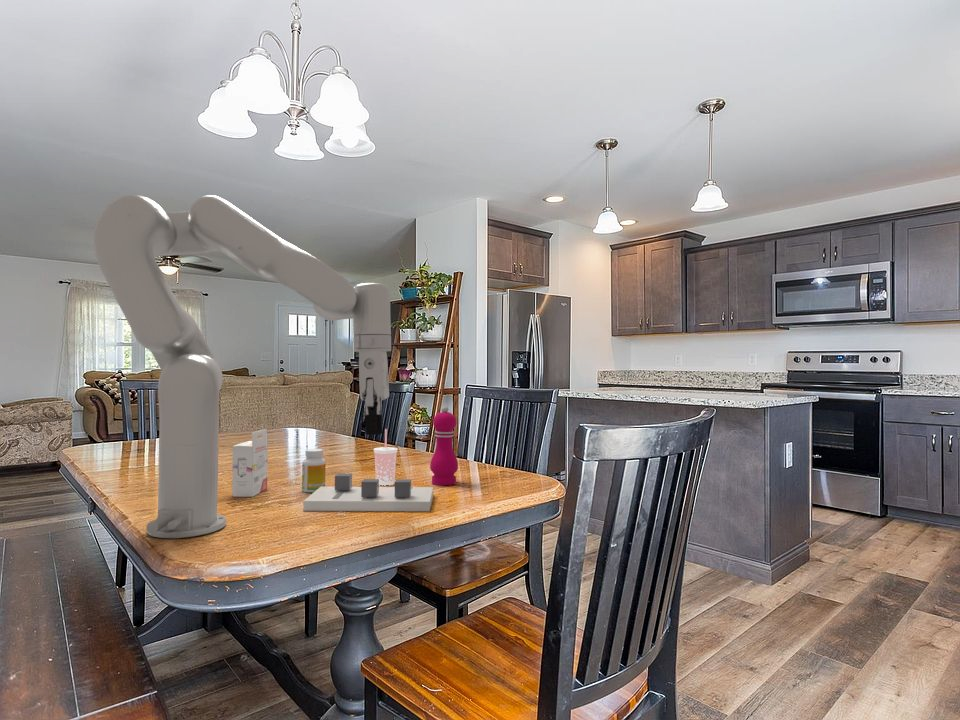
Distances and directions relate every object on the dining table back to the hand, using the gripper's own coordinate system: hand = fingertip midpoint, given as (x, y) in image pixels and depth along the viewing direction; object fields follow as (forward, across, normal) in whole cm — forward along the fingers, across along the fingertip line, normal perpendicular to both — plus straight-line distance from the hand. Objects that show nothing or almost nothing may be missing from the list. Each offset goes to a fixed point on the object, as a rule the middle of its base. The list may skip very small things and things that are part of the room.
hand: (374, 434), depth 112 cm
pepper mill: (+17, +29, -14) cm, 36 cm away
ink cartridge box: (+15, +18, +32) cm, 40 cm away
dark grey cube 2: (+14, +6, +2) cm, 15 cm away
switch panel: (+16, +9, +2) cm, 18 cm away
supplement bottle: (+16, +21, +18) cm, 32 cm away
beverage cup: (+17, +29, +1) cm, 33 cm away
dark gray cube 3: (+14, +5, -5) cm, 16 cm away
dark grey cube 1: (+14, +12, +9) cm, 20 cm away
